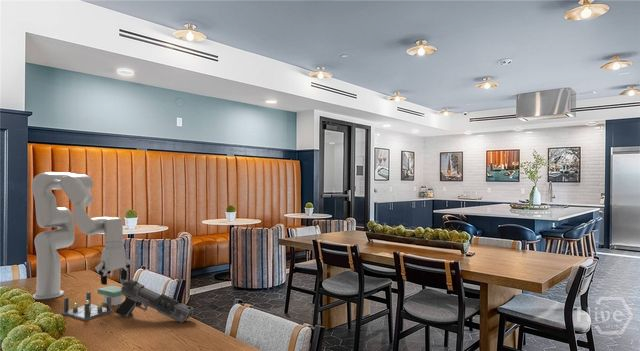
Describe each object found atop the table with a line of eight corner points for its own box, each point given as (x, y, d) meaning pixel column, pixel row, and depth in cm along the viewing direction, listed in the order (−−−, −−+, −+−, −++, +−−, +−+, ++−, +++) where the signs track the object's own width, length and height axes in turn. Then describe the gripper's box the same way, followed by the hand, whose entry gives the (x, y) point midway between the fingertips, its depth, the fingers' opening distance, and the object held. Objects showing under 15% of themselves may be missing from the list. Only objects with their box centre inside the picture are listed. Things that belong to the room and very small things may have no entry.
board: (97, 293, 182) (97, 289, 182) (111, 289, 188) (111, 285, 188) (114, 297, 177) (114, 292, 177) (128, 293, 183) (128, 288, 183)
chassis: (62, 313, 168) (62, 298, 168) (90, 305, 178) (90, 291, 178) (84, 320, 160) (84, 304, 160) (112, 311, 171) (112, 296, 171)
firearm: (179, 344, 158) (190, 309, 157) (110, 311, 164) (121, 277, 164) (184, 340, 162) (195, 306, 161) (117, 308, 168) (128, 275, 168)
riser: (103, 302, 183) (103, 293, 183) (111, 300, 186) (111, 291, 186) (114, 305, 179) (114, 295, 179) (122, 303, 182) (122, 293, 182)
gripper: (125, 241, 192) (126, 276, 192) (90, 247, 177) (90, 285, 177) (135, 242, 188) (136, 278, 188) (100, 248, 173) (101, 287, 173)
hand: (114, 281), depth 182 cm, fingers open, 9 cm apart
